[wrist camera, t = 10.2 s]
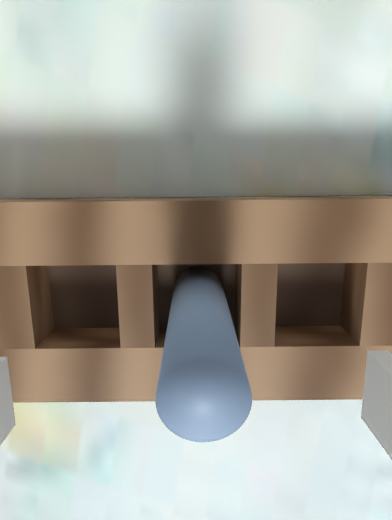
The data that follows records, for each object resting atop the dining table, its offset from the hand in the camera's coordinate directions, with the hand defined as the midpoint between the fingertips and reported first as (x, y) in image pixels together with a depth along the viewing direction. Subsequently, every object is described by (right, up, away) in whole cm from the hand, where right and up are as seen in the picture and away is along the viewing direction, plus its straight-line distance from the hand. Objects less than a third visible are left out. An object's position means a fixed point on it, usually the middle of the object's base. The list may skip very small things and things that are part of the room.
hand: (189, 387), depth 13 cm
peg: (0, +3, +10) cm, 11 cm away
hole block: (0, +3, +11) cm, 11 cm away
